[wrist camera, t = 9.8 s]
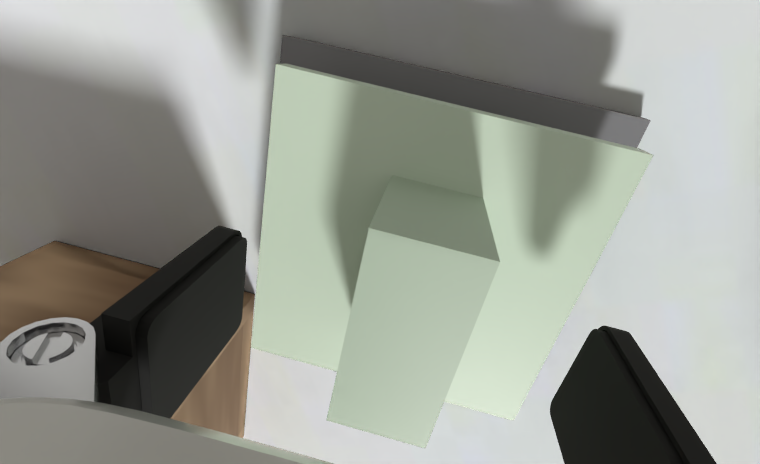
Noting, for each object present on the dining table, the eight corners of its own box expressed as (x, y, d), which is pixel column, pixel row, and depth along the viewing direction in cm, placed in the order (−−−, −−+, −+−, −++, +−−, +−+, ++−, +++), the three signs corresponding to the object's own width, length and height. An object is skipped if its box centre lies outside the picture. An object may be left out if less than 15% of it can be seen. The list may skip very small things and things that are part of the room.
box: (254, 294, 18) (128, 452, 11) (243, 436, 22) (147, 616, 15) (54, 240, 19) (-193, 357, 11) (81, 389, 23) (-86, 542, 16)
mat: (641, 117, 13) (650, 120, 12) (513, 381, 18) (515, 391, 17) (289, 36, 13) (282, 35, 13) (263, 313, 19) (258, 321, 18)
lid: (619, 138, 13) (762, 207, 7) (505, 376, 17) (534, 535, 11) (302, 62, 13) (192, 68, 7) (273, 313, 18) (192, 435, 12)
